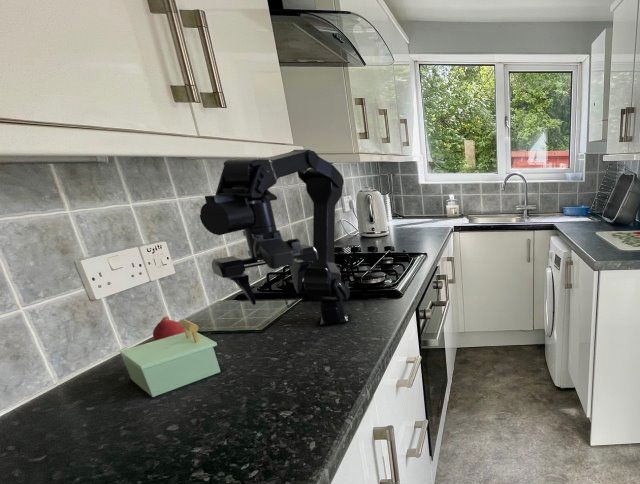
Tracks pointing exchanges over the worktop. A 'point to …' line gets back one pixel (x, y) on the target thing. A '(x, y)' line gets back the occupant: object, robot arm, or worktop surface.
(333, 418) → the worktop surface
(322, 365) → the worktop surface
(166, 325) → the onion
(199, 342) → the bin lid
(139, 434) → the worktop surface
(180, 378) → the bin
